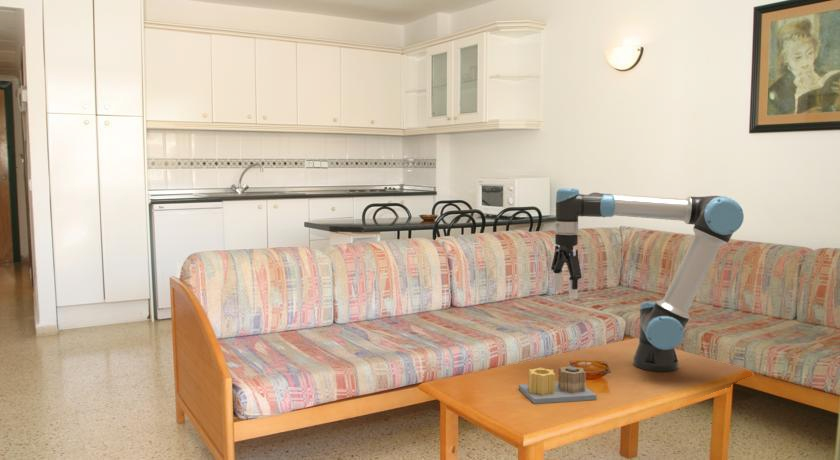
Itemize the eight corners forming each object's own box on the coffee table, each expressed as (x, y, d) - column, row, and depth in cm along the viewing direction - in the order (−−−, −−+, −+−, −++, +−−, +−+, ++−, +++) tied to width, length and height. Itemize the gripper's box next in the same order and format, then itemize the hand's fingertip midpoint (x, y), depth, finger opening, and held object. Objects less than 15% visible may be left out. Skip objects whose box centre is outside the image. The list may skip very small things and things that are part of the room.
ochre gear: (549, 385, 218) (549, 367, 217) (559, 394, 209) (560, 375, 209) (523, 387, 216) (524, 368, 215) (533, 395, 208) (533, 376, 207)
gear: (578, 383, 220) (579, 365, 219) (590, 392, 211) (590, 373, 211) (553, 385, 218) (554, 366, 217) (564, 393, 210) (564, 374, 209)
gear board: (577, 385, 223) (577, 360, 222) (596, 399, 209) (597, 373, 208) (518, 389, 219) (519, 364, 218) (534, 403, 205) (534, 377, 204)
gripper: (542, 230, 246) (541, 288, 248) (571, 237, 221) (569, 302, 223) (562, 230, 247) (561, 288, 249) (592, 237, 223) (591, 301, 225)
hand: (565, 294), depth 236 cm, fingers open, 13 cm apart
